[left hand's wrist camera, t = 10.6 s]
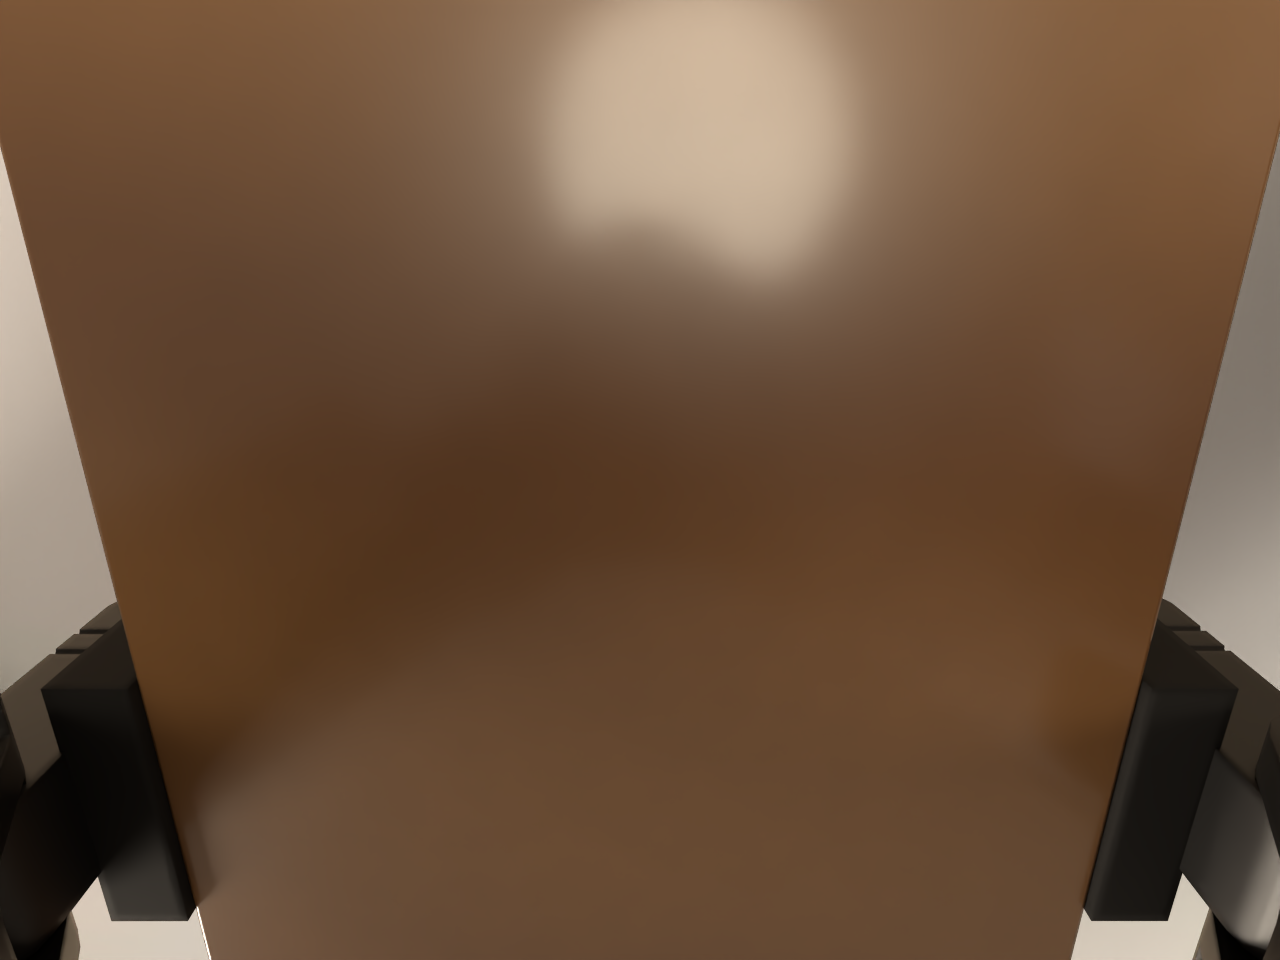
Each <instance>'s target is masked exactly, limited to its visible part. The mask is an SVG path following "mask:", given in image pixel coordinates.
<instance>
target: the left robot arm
mask: <svg viewBox="0 0 1280 960" xmlns="http://www.w3.org/2000/svg"><path fill="white" fill-rule="evenodd" d="M1182 873H1183V874H1184V875H1185V877H1186V878H1187V879H1188V881H1189V882H1190V883H1191V885H1192V886H1193V887H1194V888H1195V890H1196V891H1197V892H1198V894H1199V895H1200V896H1201V898H1202V899H1203V900H1204V901H1205V903H1206V904H1207V905H1208V907H1209V911H1208V914H1207V917H1206V920H1205V923H1204V926H1203V929H1202V932H1201V935H1200V938H1199V941H1198V944H1197V947H1196V950H1195V953H1194V957H1193V960H1280V691H1279V690H1278V689H1277V688H1275V687H1274V686H1273V685H1272V684H1270V683H1269V682H1268V681H1267V680H1265V679H1264V678H1263V677H1262V676H1261V675H1259V674H1258V673H1257V672H1256V671H1254V670H1253V669H1252V668H1251V667H1250V666H1248V665H1247V664H1246V663H1245V662H1243V661H1242V660H1241V659H1240V658H1239V657H1237V656H1236V655H1235V654H1234V653H1232V652H1231V651H1225V650H1224V645H1223V644H1221V643H1220V642H1219V641H1218V640H1216V639H1215V638H1214V637H1213V636H1212V635H1210V634H1209V633H1208V632H1207V631H1201V630H1200V626H1199V625H1198V624H1197V623H1196V622H1194V621H1193V620H1192V619H1191V618H1190V617H1188V616H1187V615H1186V614H1185V613H1183V612H1182V611H1181V610H1180V609H1178V608H1177V607H1176V606H1175V605H1174V604H1172V603H1171V602H1169V601H1167V600H1165V599H1162V601H1161V605H1160V608H1159V612H1158V616H1157V620H1156V624H1155V628H1154V632H1153V636H1152V640H1151V644H1150V648H1149V652H1148V656H1147V660H1146V664H1145V668H1144V672H1143V676H1142V680H1141V684H1140V688H1139V692H1138V696H1137V699H1136V703H1135V707H1134V711H1133V715H1132V719H1131V723H1130V727H1129V731H1128V735H1127V739H1126V743H1125V747H1124V751H1123V755H1122V759H1121V763H1120V767H1119V771H1118V775H1117V779H1116V783H1115V787H1114V790H1113V794H1112V798H1111V802H1110V806H1109V810H1108V814H1107V818H1106V822H1105V826H1104V830H1103V834H1102V838H1101V842H1100V846H1099V850H1098V854H1097V858H1096V862H1095V866H1094V870H1093V874H1092V878H1091V881H1090V885H1089V889H1088V893H1087V897H1086V901H1085V905H1084V909H1085V911H1086V913H1087V914H1088V916H1089V918H1090V919H1091V921H1168V918H1169V915H1170V912H1171V909H1172V905H1173V902H1174V899H1175V895H1176V892H1177V889H1178V886H1179V882H1180V879H1181V876H1182ZM97 877H98V878H99V882H100V885H101V888H102V891H103V895H104V898H105V901H106V904H107V908H108V911H109V914H110V917H111V921H188V920H189V918H190V917H191V915H192V913H193V912H194V910H195V908H196V906H195V902H194V898H193V894H192V891H191V887H190V883H189V879H188V875H187V871H186V867H185V863H184V859H183V856H182V852H181V848H180V844H179V840H178V836H177V832H176V828H175V824H174V820H173V817H172V813H171V809H170V805H169V801H168V797H167V793H166V789H165V785H164V782H163V778H162V774H161V770H160V766H159V762H158V758H157V754H156V750H155V746H154V743H153V739H152V735H151V731H150V727H149V723H148V719H147V715H146V711H145V708H144V704H143V700H142V696H141V692H140V688H139V684H138V680H137V676H136V672H135V669H134V665H133V661H132V657H131V653H130V649H129V645H128V641H127V637H126V634H125V630H124V626H123V622H122V618H121V614H120V610H119V606H118V602H116V603H114V604H112V605H109V606H108V607H107V608H105V609H104V610H103V611H102V612H100V613H99V614H98V615H97V616H96V617H94V618H93V619H92V620H91V621H90V622H88V623H87V624H86V625H85V626H83V627H82V628H81V629H80V633H79V634H74V635H73V636H71V637H70V638H69V639H68V640H66V641H65V642H64V643H63V644H62V645H60V646H59V647H58V648H57V649H56V653H55V654H49V655H48V656H47V657H46V658H45V659H43V660H42V661H41V662H40V663H38V664H37V665H36V666H35V667H34V668H32V669H31V670H30V671H29V672H28V673H26V674H25V675H24V676H23V677H21V678H20V679H19V680H18V681H17V682H15V683H14V684H13V685H12V686H10V687H9V688H8V689H7V690H6V691H4V692H3V693H2V694H1V695H0V960H78V958H79V952H80V942H79V935H78V929H77V926H76V923H75V920H74V917H73V914H72V909H73V908H74V907H75V905H76V904H77V903H78V901H79V900H80V899H81V897H82V896H83V895H84V894H85V892H86V891H87V890H88V888H89V887H90V886H91V884H92V883H93V882H94V880H95V879H96V878H97Z"/></svg>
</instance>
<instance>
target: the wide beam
mask: <svg viewBox="0 0 1280 960" xmlns="http://www.w3.org/2000/svg"><path fill="white" fill-rule="evenodd" d="M1279 134H1280V0H0V147H1V151H2V155H3V158H4V162H5V166H6V170H7V174H8V178H9V182H10V186H11V190H12V194H13V197H14V201H15V205H16V209H17V213H18V217H19V221H20V225H21V229H22V232H23V236H24V240H25V244H26V248H27V252H28V256H29V260H30V264H31V268H32V271H33V275H34V279H35V283H36V287H37V291H38V295H39V299H40V303H41V306H42V310H43V314H44V318H45V322H46V326H47V330H48V334H49V338H50V342H51V345H52V349H53V353H54V357H55V361H56V365H57V369H58V373H59V377H60V380H61V384H62V388H63V392H64V396H65V400H66V404H67V408H68V412H69V415H70V419H71V423H72V427H73V431H74V435H75V439H76V443H77V447H78V451H79V454H80V458H81V462H82V466H83V470H84V474H85V478H86V482H87V486H88V489H89V493H90V497H91V501H92V505H93V509H94V513H95V517H96V521H97V525H98V528H99V532H100V536H101V540H102V544H103V548H104V552H105V556H106V560H107V563H108V567H109V571H110V575H111V579H112V583H113V587H114V591H115V595H116V599H117V602H118V606H119V610H120V614H121V618H122V622H123V626H124V630H125V634H126V637H127V641H128V645H129V649H130V653H131V657H132V661H133V665H134V669H135V672H136V676H137V680H138V684H139V688H140V692H141V696H142V700H143V704H144V708H145V711H146V715H147V719H148V723H149V727H150V731H151V735H152V739H153V743H154V746H155V750H156V754H157V758H158V762H159V766H160V770H161V774H162V778H163V782H164V785H165V789H166V793H167V797H168V801H169V805H170V809H171V813H172V817H173V820H174V824H175V828H176V832H177V836H178V840H179V844H180V848H181V852H182V856H183V859H184V863H185V867H186V871H187V875H188V879H189V883H190V887H191V891H192V894H193V898H194V902H195V906H196V910H197V914H198V918H199V922H200V926H201V929H202V933H203V937H204V941H205V945H206V949H207V953H208V957H209V960H1071V957H1072V953H1073V949H1074V945H1075V941H1076V937H1077V933H1078V929H1079V925H1080V921H1081V917H1082V913H1083V909H1084V905H1085V901H1086V897H1087V893H1088V889H1089V885H1090V881H1091V878H1092V874H1093V870H1094V866H1095V862H1096V858H1097V854H1098V850H1099V846H1100V842H1101V838H1102V834H1103V830H1104V826H1105V822H1106V818H1107V814H1108V810H1109V806H1110V802H1111V798H1112V794H1113V790H1114V787H1115V783H1116V779H1117V775H1118V771H1119V767H1120V763H1121V759H1122V755H1123V751H1124V747H1125V743H1126V739H1127V735H1128V731H1129V727H1130V723H1131V719H1132V715H1133V711H1134V707H1135V703H1136V699H1137V696H1138V692H1139V688H1140V684H1141V680H1142V676H1143V672H1144V668H1145V664H1146V660H1147V656H1148V652H1149V648H1150V644H1151V640H1152V636H1153V632H1154V628H1155V624H1156V620H1157V616H1158V612H1159V608H1160V605H1161V601H1162V597H1163V593H1164V589H1165V585H1166V581H1167V577H1168V573H1169V569H1170V565H1171V561H1172V557H1173V553H1174V549H1175V545H1176V541H1177V537H1178V533H1179V529H1180V525H1181V521H1182V517H1183V514H1184V510H1185V506H1186V502H1187V498H1188V494H1189V490H1190V486H1191V482H1192V478H1193V474H1194V470H1195V466H1196V462H1197V458H1198V454H1199V450H1200V446H1201V442H1202V438H1203V434H1204V430H1205V426H1206V423H1207V419H1208V415H1209V411H1210V407H1211V403H1212V399H1213V395H1214V391H1215V387H1216V383H1217V379H1218V375H1219V371H1220V367H1221V363H1222V359H1223V355H1224V351H1225V347H1226V343H1227V339H1228V335H1229V332H1230V328H1231V324H1232V320H1233V316H1234V312H1235V308H1236V304H1237V300H1238V296H1239V292H1240V288H1241V284H1242V280H1243V276H1244V272H1245V268H1246V264H1247V260H1248V256H1249V252H1250V248H1251V244H1252V241H1253V237H1254V233H1255V229H1256V225H1257V221H1258V217H1259V213H1260V209H1261V205H1262V201H1263V197H1264V193H1265V189H1266V185H1267V181H1268V177H1269V173H1270V169H1271V165H1272V161H1273V157H1274V153H1275V150H1276V146H1277V142H1278V138H1279Z"/></svg>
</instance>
